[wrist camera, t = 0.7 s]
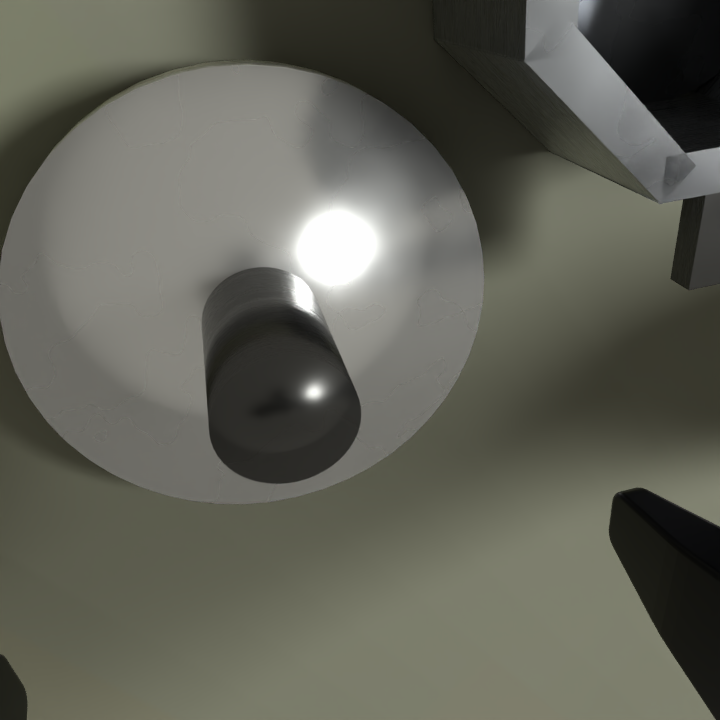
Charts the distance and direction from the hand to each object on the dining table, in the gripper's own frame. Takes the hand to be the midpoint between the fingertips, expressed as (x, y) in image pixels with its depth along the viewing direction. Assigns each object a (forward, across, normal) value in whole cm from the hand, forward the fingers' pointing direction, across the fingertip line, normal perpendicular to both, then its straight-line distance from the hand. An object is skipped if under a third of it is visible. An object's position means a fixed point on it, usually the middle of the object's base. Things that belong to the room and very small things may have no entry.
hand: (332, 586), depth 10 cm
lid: (+11, 0, 0) cm, 11 cm away
